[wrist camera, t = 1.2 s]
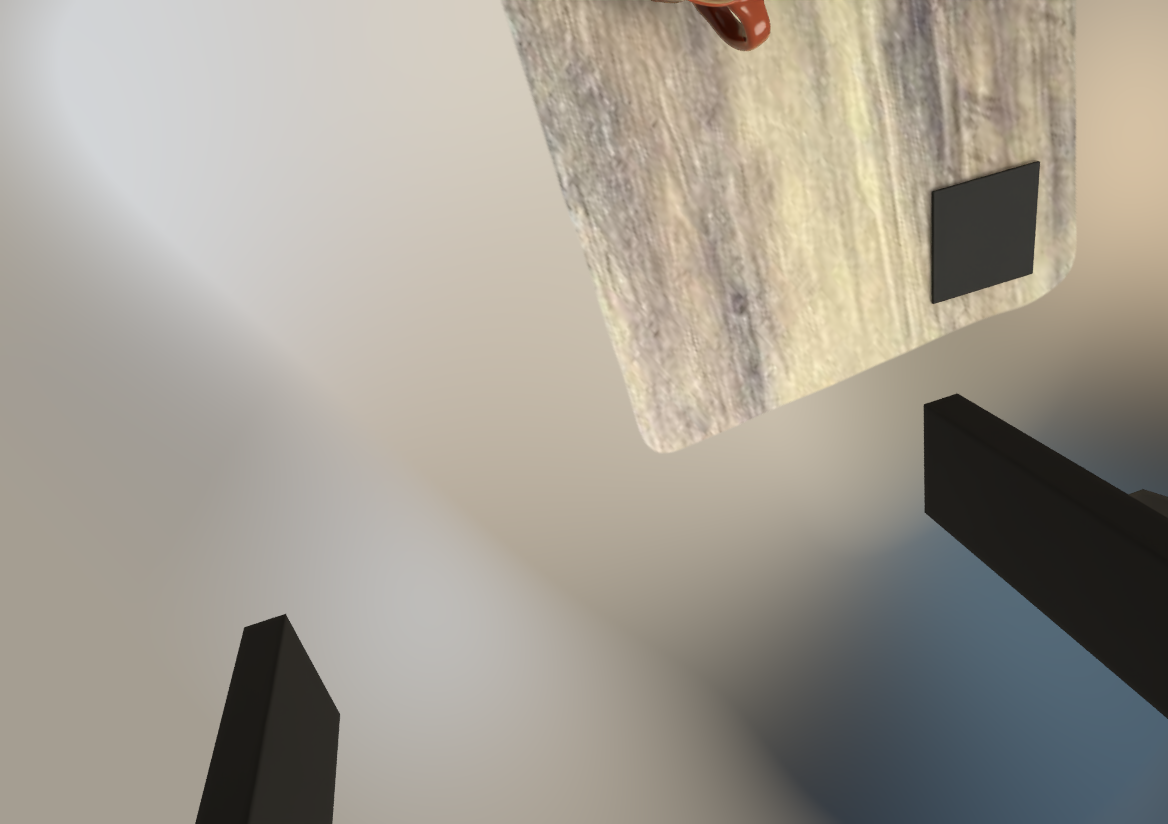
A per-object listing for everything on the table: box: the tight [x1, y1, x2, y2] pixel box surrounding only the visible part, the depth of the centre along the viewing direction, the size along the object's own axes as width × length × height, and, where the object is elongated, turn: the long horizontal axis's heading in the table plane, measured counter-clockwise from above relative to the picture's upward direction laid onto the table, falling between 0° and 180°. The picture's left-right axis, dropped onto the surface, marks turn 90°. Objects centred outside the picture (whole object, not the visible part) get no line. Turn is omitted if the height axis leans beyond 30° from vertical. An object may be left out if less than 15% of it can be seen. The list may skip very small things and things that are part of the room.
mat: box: [932, 161, 1040, 304], centre depth 66 cm, size 10×10×1 cm
